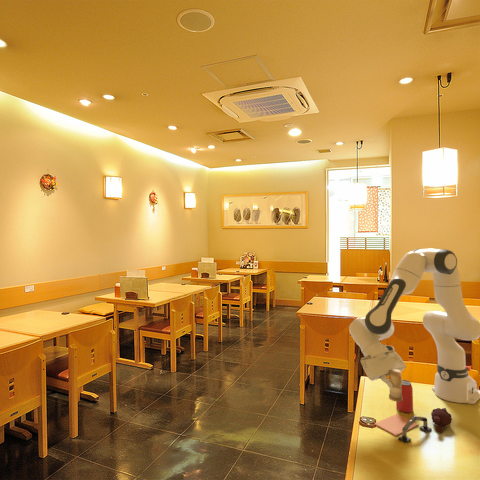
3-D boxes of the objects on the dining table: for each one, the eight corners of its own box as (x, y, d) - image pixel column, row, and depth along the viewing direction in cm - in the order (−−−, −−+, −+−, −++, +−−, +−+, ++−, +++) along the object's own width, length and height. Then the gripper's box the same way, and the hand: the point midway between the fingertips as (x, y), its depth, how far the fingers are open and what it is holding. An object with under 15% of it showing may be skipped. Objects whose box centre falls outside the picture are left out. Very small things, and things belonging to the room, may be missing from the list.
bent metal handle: (424, 426, 134) (423, 408, 134) (431, 430, 132) (431, 411, 132) (398, 439, 126) (397, 420, 126) (405, 443, 124) (405, 423, 124)
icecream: (432, 399, 143) (423, 417, 132) (452, 400, 139) (444, 418, 127) (438, 416, 143) (429, 435, 131) (457, 417, 138) (450, 437, 127)
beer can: (415, 414, 144) (414, 385, 144) (398, 412, 146) (397, 384, 146) (410, 406, 151) (409, 379, 151) (394, 405, 152) (394, 378, 152)
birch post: (394, 394, 139) (393, 367, 139) (405, 399, 135) (404, 371, 135) (386, 397, 137) (385, 370, 137) (397, 402, 133) (396, 374, 133)
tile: (396, 415, 144) (396, 413, 144) (418, 425, 135) (418, 424, 135) (374, 424, 137) (374, 423, 137) (396, 436, 128) (396, 434, 128)
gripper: (362, 354, 137) (384, 387, 128) (395, 345, 147) (417, 375, 138) (354, 362, 141) (374, 394, 132) (386, 353, 151) (407, 382, 142)
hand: (396, 385), depth 135 cm, fingers closed on birch post, 4 cm apart
